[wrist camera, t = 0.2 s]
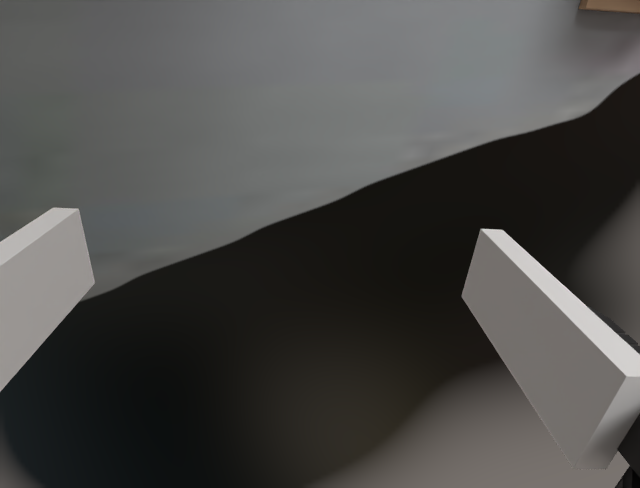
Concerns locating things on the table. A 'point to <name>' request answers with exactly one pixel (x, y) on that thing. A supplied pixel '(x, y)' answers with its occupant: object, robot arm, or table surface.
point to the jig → (612, 5)
